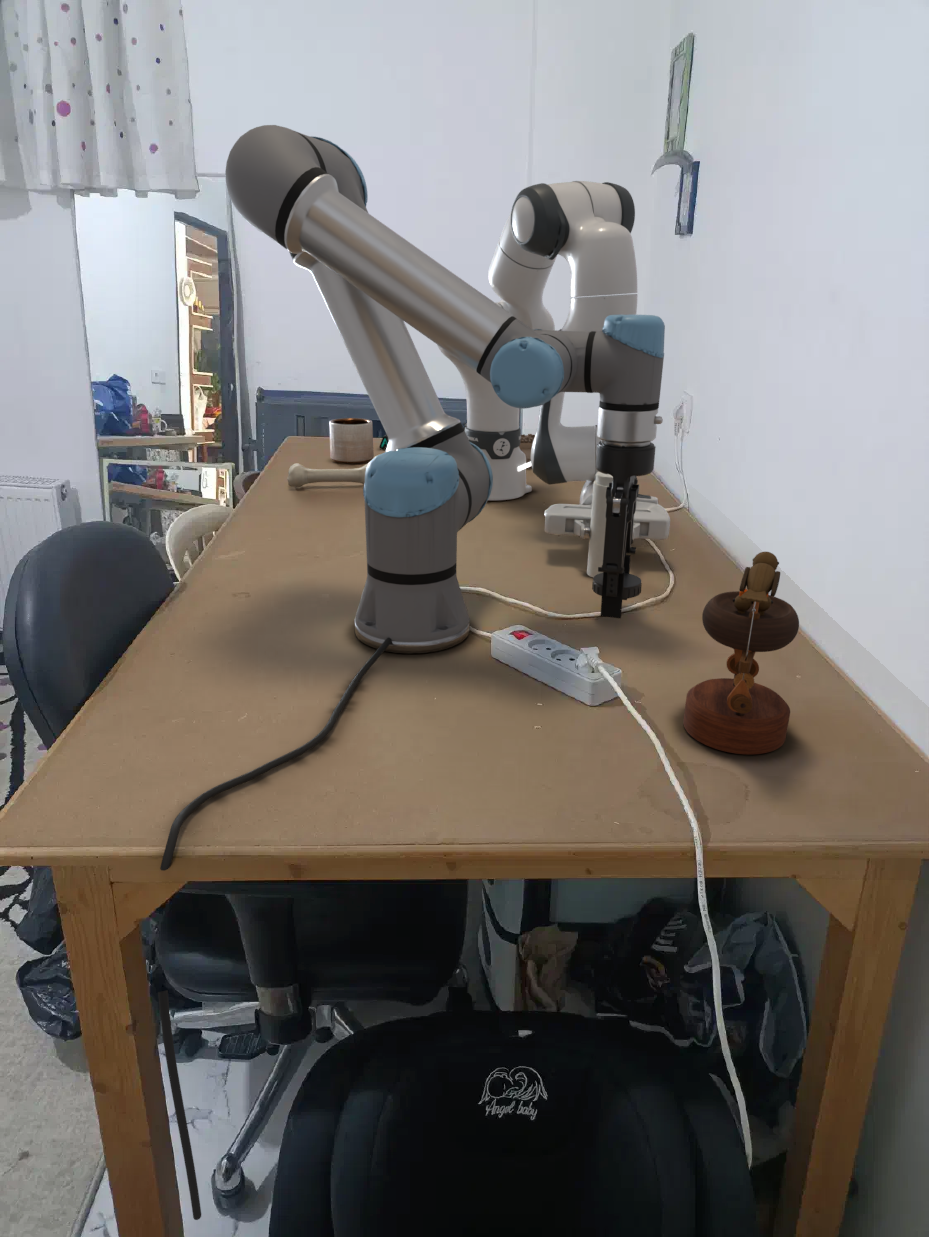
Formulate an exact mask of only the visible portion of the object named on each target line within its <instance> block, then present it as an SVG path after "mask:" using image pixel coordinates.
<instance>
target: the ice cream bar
mask: <svg viewBox="0 0 929 1237" xmlns="http://www.w3.org/2000/svg"><path fill="white" fill-rule="evenodd" d="M534 437H535V434H532V433H528V434H525V433H524V434H521V442H520V446H519V448H520V450H521V451H522V452H523V453H524V454H525V456H526V463H528V462H531V448H532V444H533V440H534Z"/></svg>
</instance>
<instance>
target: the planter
mask: <svg viewBox="0 0 929 1237" xmlns="http://www.w3.org/2000/svg"><path fill="white" fill-rule="evenodd" d="M328 424H329V425H328V426H329V453H330V454H329V455H330V456H329V457H330V459H331V460H332V461H333V462H335V463H341V464H363V463H367V462H368V463H369V462H370V461H371V460H372V459H373V458H375V455H374V452H375V451H374V450H375V449H374V430H373V429H374V428H373V420H371V419H369V418H362V417H361V418H360V417H342V418H341V417H340V418H335V419H334V418H333V419H331V420H329V421H328Z"/></svg>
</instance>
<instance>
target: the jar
mask: <svg viewBox="0 0 929 1237" xmlns="http://www.w3.org/2000/svg"><path fill="white" fill-rule="evenodd" d="M595 476H596V481H594V484H593V498H592V511H591V524H590V528H591V530H590V539H588V550H587V552H588V553H587V563H586V565H587V567H586V574H587V576H589V577H591V578H592V579H593V578H594V576H595V575H597V574H600V573H603V572H598V567H602V565H603V554H604V541H605V528H606V507H607V504H606V500H607V499H606V489H607V487H609V483H612V480H613V476H611V475H610V474H603V473H601V472H597V473H596V474H595Z"/></svg>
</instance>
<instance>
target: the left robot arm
mask: <svg viewBox="0 0 929 1237" xmlns="http://www.w3.org/2000/svg"><path fill="white" fill-rule="evenodd" d="M225 185H226V189H227V194H228V196H229V198H230V201H231V203H232V205H233V207H234V209H235V210H236V211H237V213H238V215H240V216H241V218H243V220H244V221H246V223H248V224H249V225H250V226H251V227H254V229H256V230H257V231H259V232H260V233H262V234H263V235H264V236H266V237H268V238H270V239H271V240H272V241H274V242H275V243H277V244H278V245H279V246H281V247H282V248H284V249H285V250H286V251H288V253H289V255H290V257H291V259H292V261H293V263H294V265H295V266H297V267H299V268H302V269H303V270H307V271H308V272H310V273H311V275H312V277H313V279H314V281H315V284H316V285H317V288H318V290H319V292H320V295H321V297H322V300H324V303H325V306H326V308H327V310H328V311H329V313H330V316H331V318H332V321H333V322H334V324H335V327H336V329H337V331H338V333H339V335H340V337H341V339H342V341H343V344H344V346H345V348H346V350H347V352H348V355H349V356H350V359H351V361H352V363H353V365H354V368H355V369H356V371H357V374H358V376H359V378H360V380H361V382H362V385H363V386H364V389H365V391H366V393H367V395H368V397H369V400H370V402H371V404H372V406H373V408H374V410H375V413H376V415H377V417H378V419H379V421H380V423H381V426H382V428H383V430H384V431H385V435H387V436H388V440H389V442H388V445H387V448H386V447H385V450H384V452H382V453H380V454H378V455H376V456H374V457H373V459H372V460H370V461H368V463H369V464H368V463H367V464H368V465H367V467H366V471H365V483H364V484H363V489H362V493H363V499H364V520H365V524H364V525H365V545H366V546H365V550H366V579H365V584H364V586H363V589H362V592H361V596H360V600H359V602H358V606H357V609H356V612H355V617H354V633H355V636H356V638H357V639H358V640H359V641H360V642H362V643H363V644H365V645H367V646H368V647H371V648H374V649H376V651H375V652H374V653H373V654H372V655H371V656H370V658H369V659H368V660H367V661H366V662H365V663H364V664H363V666H362V667H361V668H360V669H359V670H358V672H357V673H356V674H355V676H354V677H353V679H351V681H350V683H349V685H348V686H347V688H346V689H345V692H344V693H343V695H342V696H341V698H340V700H339V701H338V703H337V704H336V705H335V708H334V709H333V712H332V713H331V715H330V717H329V719H328V721H327V723H326V724H325V726H324V727H323V728H322V729H321V731H319V733H318V734H316V735H315V736H314V737H313V738H311V739H310V740H309V741H307V742H306V743H304V744H303V745H301V746H298V748H295V749H293V750H292V751H289V752H288V753H285V754H283V755H281V756H279V757H276V758H275V759H272V760H270V761H269V762H266V763H265V764H263V765H261V766H259V767H256V768H255V769H253V770H249V772H246V773H243V774H241V775H239V776H237V777H234V778H232V779H229V780H227V781H224V782H222V783H220V784H218V785H216V786H213V787H211V788H209V789H207V790H206V791H205V792H203V793H201V794H199V795H198V796H197V797H196V798H194V799H193V800H192V801H191V802H189V804H188V805H186V806H185V807H184V808H183V809H182V810H181V811H180V812H179V813H178V814H177V815H176V817H175V818H174V820H173V822H172V824H171V826H170V829H169V832H168V837H167V839H166V840H167V841H166V844H165V847H164V852H163V856H162V860H161V863H160V867H159V869H160V871H167V870H169V869H170V868H171V864H172V861H173V857H174V854H175V850H176V846H177V841H178V839H179V834H180V831H181V828H182V826H183V824H184V822H185V821H186V820H187V818H189V817H190V815H192V813H194V811H196V810H197V809H198V808H199V807H200V806H201V805H203V804H204V803H205V802H207V801H208V800H210V799H212V798H214V797H215V796H217V795H219V794H221V793H225V792H226V791H229V790H230V789H233V788H235V787H238V786H240V785H243V784H245V783H247V782H250V781H252V780H254V779H256V778H258V777H260V776H261V775H264V774H266V773H267V772H270V771H271V770H273V769H276V768H277V767H279V766H282V765H284V764H286V763H288V762H290V761H292V760H294V759H296V758H298V757H300V756H302V755H303V754H305V753H307V752H309V751H310V750H312V749H313V748H315V747H316V746H317V745H319V744H320V743H321V742H322V741H324V739H325V738H327V736H328V735H330V733H331V731H332V730H333V728H334V727H335V725H336V723H337V721H338V719H339V717H340V715H341V713H342V712H343V710H344V708H345V706H346V705H347V703H348V702H349V700H350V698H351V696H352V695H353V692H354V691H355V689H356V687H357V686H358V684H359V683H360V681H361V680H362V678H363V677H364V676H365V675H366V674H367V672H369V670H370V669H371V668H372V666H373V665H374V664H375V663H376V662H377V660H378V659H379V658H380V657H381V655H382V654H383V653H384V652H390V653H396V654H397V653H398V654H425V653H433V652H439V651H443V650H446V649H449V648H452V647H455V646H457V645H458V644H460V643H462V642H463V641H464V640H466V639H467V637H468V636H469V634H470V616H469V612H468V608H467V606H466V601H465V599H464V596H463V593H462V589H461V586H460V583H459V581H458V577H457V561H458V560H457V559H458V558H457V557H458V556H457V554H458V532H460V531H461V530H462V529H463V528H464V527H465V526H466V525H467V524H468V523H471V522H472V521H474V520H475V519H476V518H477V517H478V516H479V515H480V514H481V513H482V511H483V510H484V508H485V507H486V505H487V503H488V501H489V500H488V499H489V497H490V494H491V490H492V486H493V474H492V469H491V466H490V463H489V461H488V459H487V457H486V455H485V454H484V453H483V451H482V450H481V449H480V448H479V447H477V446H476V445H475V444H473V443H471V442H469V440H468V437H467V435H466V433H465V431H464V425H463V424H462V422H461V420H460V419H459V418H457V417H454V416H451V415H448V414H447V413H446V412H445V411H444V409H443V405H442V404H441V402H440V399H439V397H438V395H437V392H436V390H435V388H434V385H433V384H432V382H431V379H430V377H429V374H428V372H427V370H426V368H425V366H424V364H423V361H422V359H421V357H420V354H419V352H418V349H417V348H416V345H415V342H414V341H413V339H412V336H411V334H410V332H409V330H408V327H407V325H409V326H410V327H411V328H413V329H414V330H416V331H417V332H419V333H420V334H421V335H423V336H424V337H426V338H427V339H429V340H430V341H432V342H433V343H435V344H436V346H438V345H439V346H440V347H442V348H443V349H444V350H446V351H447V352H449V353H450V354H451V355H453V356H454V357H456V358H457V359H459V360H460V361H461V362H463V363H464V364H466V365H467V366H469V367H470V368H471V369H473V370H474V371H476V372H477V373H478V374H480V375H481V376H482V377H484V378H485V379H486V380H488V381H489V382H490V383H491V384H492V386H493V389H494V391H495V393H496V394H497V395H498V397H499V398H500V399H501V400H502V401H503V402H505V403H506V404H508V405H510V406H512V407H515V408H520V409H524V410H525V409H531V408H535V407H540V406H541V405H543V404H545V403H547V402H549V401H550V400H551V399H552V398H553V397H554V396H556V394H558V393H560V392H565V393H587V394H595V393H596V394H597V393H598V394H599V404H598V411H597V412H598V413H597V425H598V427H597V437H598V438H599V439H601V441H600V442H599V443H598V444H597V451H596V469H597V470H598V471H599V472H601V473H603V474H610V475H611V476H613V480H612V483H609V487H607V489H606V499H607V500H606V504H607V507H606V528H605V541H604V554H603V565H602V567H598V572H603V586H602V596H601V600H600V601H601V602H600V603H601V604H600V617H602V618H611V619H621V618H622V612H623V611H622V610H623V601H627V600H628V598H627V599H623V586H624V573H629V574H630V568H631V555H636V553H637V547H636V546H633V543H634V541H633V539H632V538H633V524H634V514H635V511H636V503H637V497H638V494H640V484H638V483H639V479H638V477H643V476H648V475H650V474H652V472H654V468H655V459H656V448H657V447H656V445H655V444H654V442H653V441H655V440H656V439H657V432H658V431H657V430H658V426H657V425H661V424H662V423H663V422H664V420H663V417H662V416H661V415H658V413H659V407H660V398H661V389H662V378H663V369H664V368H663V367H664V358H665V330H666V325H665V322H664V320H663V319H662V318H661V317H660V316H658V315H655V314H636V315H609V316H607V317H606V319H605V322H604V326H603V328H602V331H591V332H581V331H558V330H557V329H555V330H542V329H535V330H533V329H532V328H530V327H529V326H527V325H526V324H524V323H523V322H521V321H520V320H518V319H517V318H515V317H514V316H513V315H512V314H510V313H509V312H507V311H506V310H505V309H503V308H502V307H500V306H499V305H498V304H496V302H494V301H493V300H492V299H491V298H490V297H488V296H486V295H485V294H483V293H482V292H481V291H479V290H478V289H476V288H475V287H474V286H472V285H470V283H468V282H466V281H465V280H464V279H462V278H461V277H460V276H458V275H456V273H454V272H452V271H451V270H449V269H448V268H447V267H445V266H444V265H442V264H441V263H440V262H438V261H437V260H435V259H434V258H433V257H432V256H430V255H428V254H427V253H426V252H424V251H423V250H421V249H420V248H418V247H417V246H416V245H414V244H413V243H411V242H410V241H409V240H407V239H406V238H404V237H403V236H401V235H400V234H398V233H397V232H396V231H394V230H393V229H391V228H390V227H389V226H387V225H385V223H383V222H382V221H381V220H378V218H376V217H374V216H373V215H372V214H370V213H369V211H368V209H367V203H368V187H367V183H366V178H365V176H364V174H363V171H362V169H361V167H360V166H359V164H358V163H357V161H356V160H355V159H354V157H353V156H351V155H350V154H349V153H348V152H347V151H346V150H344V149H343V148H342V147H340V146H339V145H338V144H336V143H334V142H332V141H331V140H330V139H329V140H328V139H326V138H323V137H320V136H313V135H311V136H309V135H306V134H304V133H301V132H298V131H296V130H294V129H291V128H288V127H285V126H281V125H277V124H263V125H260V126H256V127H253V128H251V129H249V130H248V131H246V132H245V133H243V134H242V135H241V136H239V138H238V139H237V140H236V141H235V143H234V144H233V145H232V147H231V149H230V151H229V154H228V157H227V160H226V164H225ZM406 324H407V325H406ZM635 476H637V477H635ZM157 995H158V1007H159V1016H160V1026H161V1034H162V1040H163V1047H164V1053H165V1054H164V1055H165V1061H166V1066H167V1073H168V1078H169V1086H170V1090H171V1096H172V1101H173V1106H174V1112H175V1117H176V1123H177V1127H178V1133H179V1139H180V1144H181V1149H182V1155H183V1161H184V1165H185V1171H186V1178H187V1184H188V1191H189V1196H190V1204H191V1212H192V1218H193V1219H194V1220H195V1221H198V1220H200V1219H201V1218H202V1207H201V1201H200V1194H199V1186H198V1180H197V1175H196V1168H195V1162H194V1161H195V1160H194V1156H193V1151H192V1144H191V1139H190V1133H189V1127H188V1122H187V1117H186V1111H185V1106H184V1100H183V1094H182V1088H181V1084H180V1076H179V1071H178V1065H177V1058H176V1052H175V1044H174V1038H173V1030H172V1022H171V1020H172V1019H171V1012H170V1003H169V991H168V989H167V990H162V991H158V992H157Z"/></svg>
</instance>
